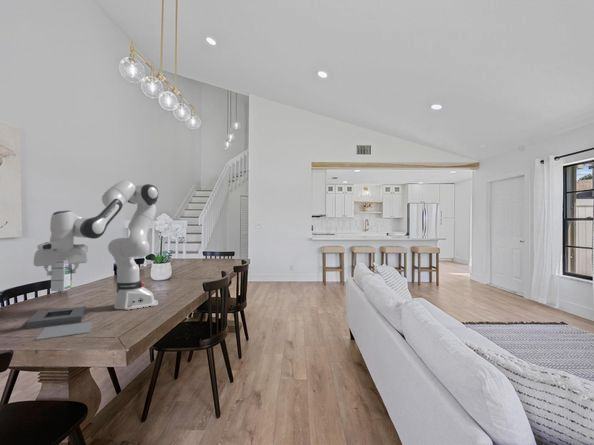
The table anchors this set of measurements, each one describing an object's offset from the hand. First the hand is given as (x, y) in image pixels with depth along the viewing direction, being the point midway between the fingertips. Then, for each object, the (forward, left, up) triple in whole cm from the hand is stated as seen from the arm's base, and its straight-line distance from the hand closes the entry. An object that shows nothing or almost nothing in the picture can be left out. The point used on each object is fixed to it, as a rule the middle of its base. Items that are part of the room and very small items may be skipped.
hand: (61, 274), depth 144 cm
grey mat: (-4, +13, -23) cm, 27 cm away
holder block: (+2, -8, -23) cm, 25 cm away
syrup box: (0, 0, -8) cm, 8 cm away
